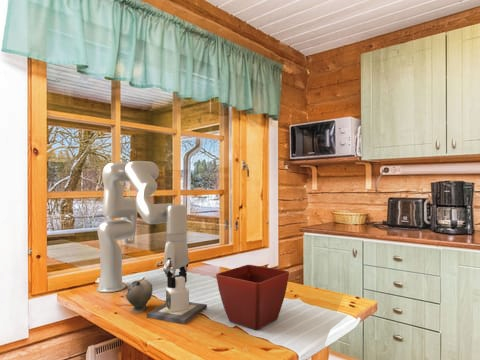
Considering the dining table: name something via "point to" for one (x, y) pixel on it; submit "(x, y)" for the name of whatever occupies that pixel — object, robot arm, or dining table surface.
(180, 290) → the medicine bottle
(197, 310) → the charcoal board
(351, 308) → the dining table surface
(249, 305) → the plant pot
